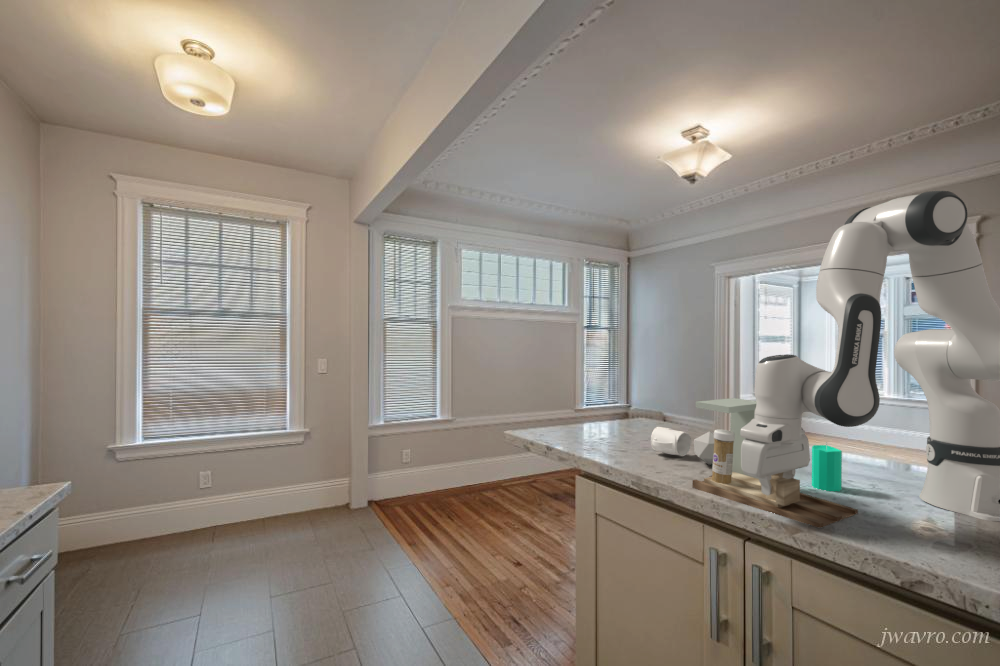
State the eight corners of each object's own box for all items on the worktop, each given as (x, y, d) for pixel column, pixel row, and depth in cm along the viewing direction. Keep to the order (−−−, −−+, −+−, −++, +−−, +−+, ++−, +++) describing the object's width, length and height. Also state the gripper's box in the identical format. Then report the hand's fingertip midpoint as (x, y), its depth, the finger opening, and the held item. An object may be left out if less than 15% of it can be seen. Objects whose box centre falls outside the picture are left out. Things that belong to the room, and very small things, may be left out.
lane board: (857, 518, 95) (857, 509, 95) (819, 532, 87) (819, 523, 87) (730, 478, 120) (730, 471, 120) (692, 487, 113) (692, 480, 113)
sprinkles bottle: (707, 483, 111) (709, 429, 111) (720, 481, 113) (722, 428, 113) (722, 490, 107) (725, 434, 107) (736, 487, 109) (739, 432, 108)
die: (730, 470, 127) (730, 435, 127) (696, 468, 129) (696, 433, 129) (721, 462, 136) (722, 429, 136) (690, 460, 137) (690, 427, 138)
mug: (664, 448, 152) (665, 424, 152) (691, 454, 144) (691, 429, 144) (644, 454, 144) (645, 429, 144) (671, 460, 137) (672, 434, 137)
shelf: (766, 488, 113) (766, 402, 113) (728, 498, 105) (728, 406, 105) (732, 477, 121) (733, 398, 121) (695, 486, 113) (695, 401, 113)
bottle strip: (799, 506, 97) (799, 480, 97) (783, 511, 94) (783, 484, 94) (717, 480, 114) (717, 457, 114) (702, 483, 111) (702, 460, 111)
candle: (811, 484, 116) (812, 438, 116) (840, 489, 112) (841, 441, 112) (811, 491, 111) (811, 442, 111) (842, 496, 107) (842, 446, 107)
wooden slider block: (793, 493, 105) (793, 469, 105) (778, 497, 102) (778, 472, 102) (734, 475, 118) (735, 454, 118) (720, 479, 115) (720, 457, 115)
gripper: (789, 421, 106) (788, 480, 106) (735, 430, 96) (734, 494, 96) (818, 426, 101) (818, 488, 101) (764, 436, 91) (764, 504, 91)
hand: (776, 491), depth 98 cm, fingers open, 5 cm apart
